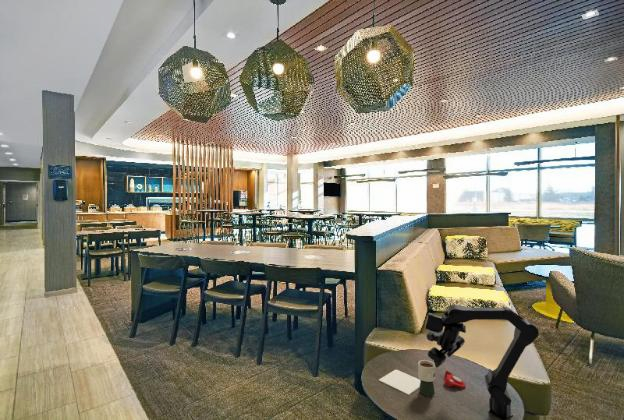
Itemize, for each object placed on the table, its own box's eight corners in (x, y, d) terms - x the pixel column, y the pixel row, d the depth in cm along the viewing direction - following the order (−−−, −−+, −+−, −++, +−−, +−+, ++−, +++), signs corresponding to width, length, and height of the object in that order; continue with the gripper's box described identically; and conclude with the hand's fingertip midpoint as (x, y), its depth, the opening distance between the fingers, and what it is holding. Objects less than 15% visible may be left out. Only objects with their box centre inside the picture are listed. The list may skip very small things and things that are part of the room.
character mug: (438, 401, 135) (437, 370, 135) (420, 400, 137) (420, 369, 136) (433, 387, 146) (432, 358, 146) (416, 385, 147) (416, 357, 147)
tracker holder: (470, 383, 147) (458, 385, 142) (467, 392, 147) (454, 394, 142) (448, 366, 157) (435, 367, 152) (445, 374, 158) (432, 375, 152)
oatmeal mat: (425, 383, 149) (425, 382, 149) (408, 395, 140) (408, 394, 140) (395, 370, 161) (395, 369, 161) (378, 380, 152) (378, 379, 152)
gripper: (445, 313, 144) (438, 339, 151) (420, 332, 134) (413, 359, 141) (469, 329, 137) (460, 355, 143) (444, 350, 126) (436, 377, 133)
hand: (442, 361), depth 140 cm, fingers open, 9 cm apart
